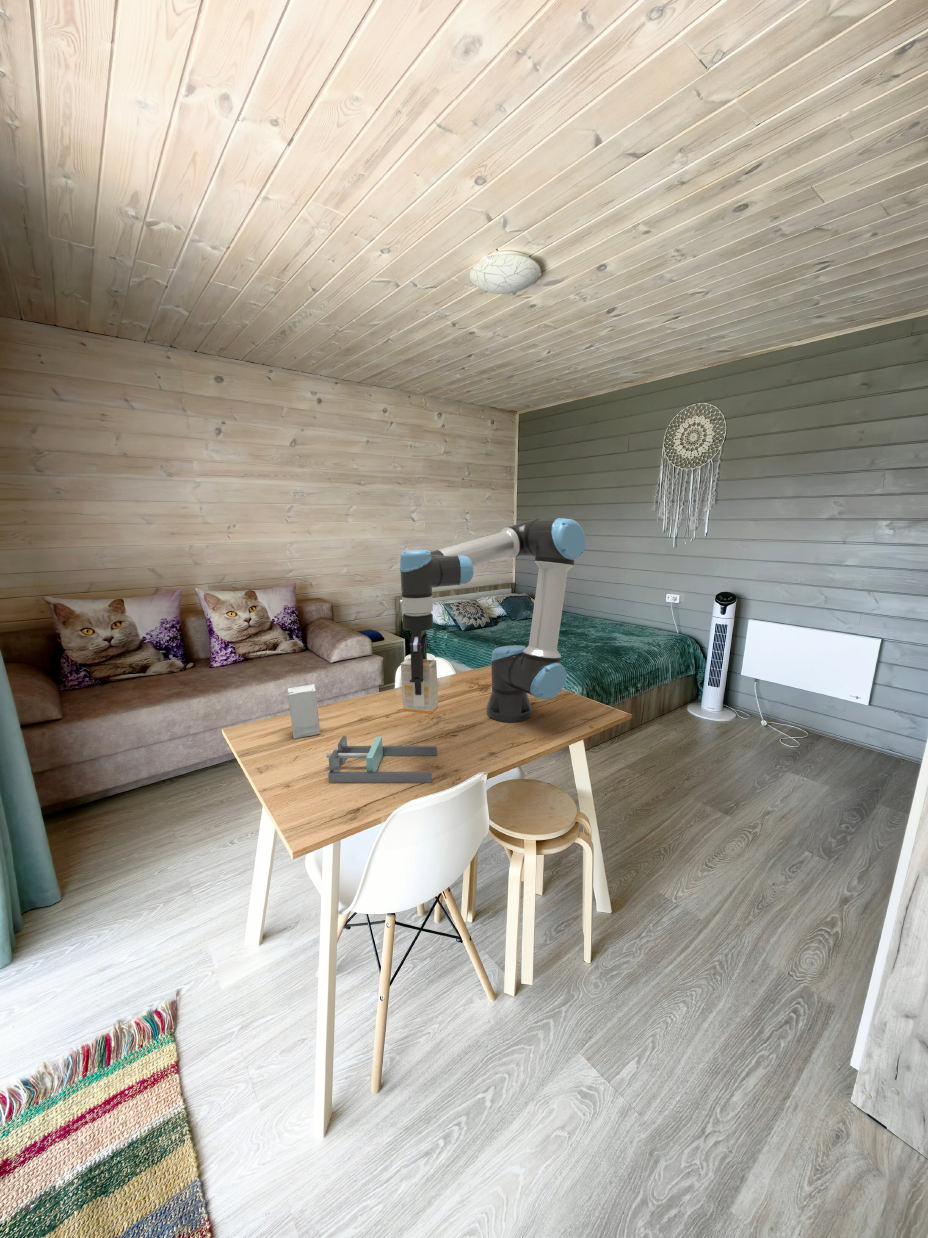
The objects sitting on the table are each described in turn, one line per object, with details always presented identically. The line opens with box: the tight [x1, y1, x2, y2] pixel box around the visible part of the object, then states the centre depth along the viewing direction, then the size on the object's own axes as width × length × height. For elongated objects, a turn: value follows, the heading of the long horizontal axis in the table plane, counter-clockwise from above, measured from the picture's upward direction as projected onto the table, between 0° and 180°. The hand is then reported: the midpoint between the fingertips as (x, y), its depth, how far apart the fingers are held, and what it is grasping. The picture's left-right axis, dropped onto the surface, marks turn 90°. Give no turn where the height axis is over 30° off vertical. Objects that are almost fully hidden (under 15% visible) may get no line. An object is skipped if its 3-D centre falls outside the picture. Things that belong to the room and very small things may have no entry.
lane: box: [328, 735, 438, 784], centre depth 127 cm, size 26×15×6 cm, turn 88°
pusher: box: [326, 736, 384, 772], centre depth 127 cm, size 14×12×6 cm
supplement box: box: [400, 658, 439, 715], centre depth 123 cm, size 8×5×13 cm, turn 72°
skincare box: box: [287, 683, 321, 740], centre depth 147 cm, size 8×6×15 cm
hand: (420, 701), depth 123 cm, fingers closed on supplement box, 6 cm apart
